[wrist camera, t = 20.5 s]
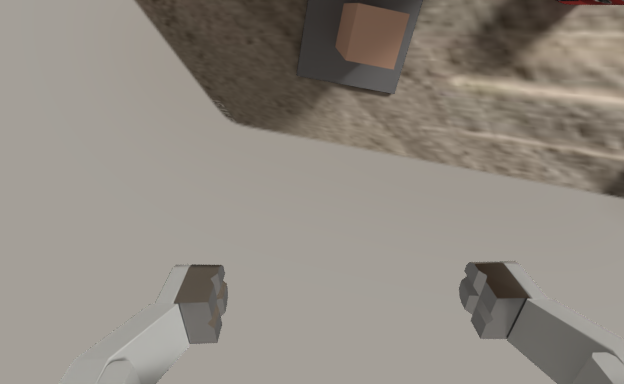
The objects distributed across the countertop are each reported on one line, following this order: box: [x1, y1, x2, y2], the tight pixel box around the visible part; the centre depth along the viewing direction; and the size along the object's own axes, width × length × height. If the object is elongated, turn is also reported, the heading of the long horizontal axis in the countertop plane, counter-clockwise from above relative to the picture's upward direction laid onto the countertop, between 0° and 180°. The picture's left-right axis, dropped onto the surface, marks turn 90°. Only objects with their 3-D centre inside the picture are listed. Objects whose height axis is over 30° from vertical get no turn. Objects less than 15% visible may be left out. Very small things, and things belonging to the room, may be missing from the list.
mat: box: [297, 0, 423, 94], centre depth 42 cm, size 14×14×1 cm
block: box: [335, 3, 410, 70], centre depth 36 cm, size 5×5×12 cm
